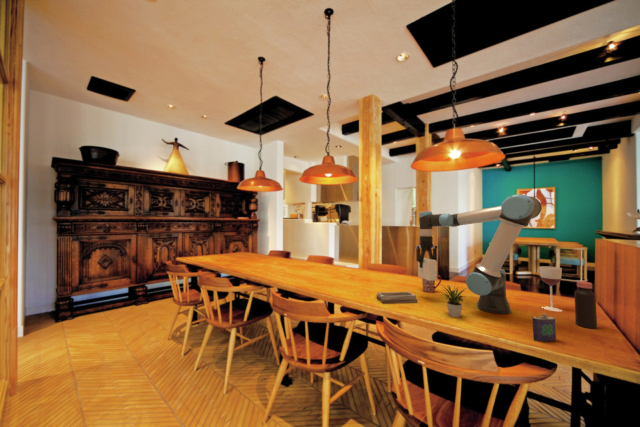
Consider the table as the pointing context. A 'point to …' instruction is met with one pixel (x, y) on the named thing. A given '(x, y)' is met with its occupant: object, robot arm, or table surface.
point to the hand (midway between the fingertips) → (427, 272)
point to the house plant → (454, 302)
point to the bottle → (585, 306)
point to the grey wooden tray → (396, 297)
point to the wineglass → (551, 281)
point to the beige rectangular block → (428, 270)
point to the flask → (544, 328)
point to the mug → (429, 285)
